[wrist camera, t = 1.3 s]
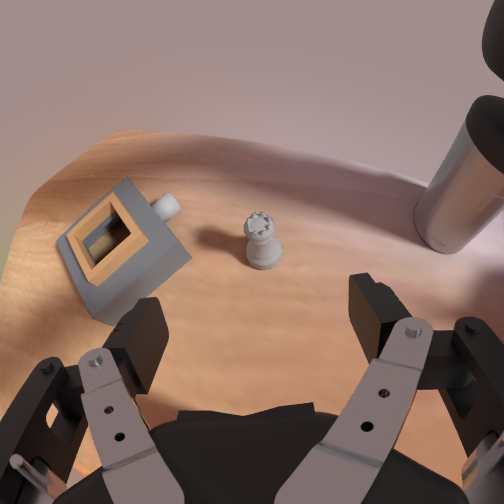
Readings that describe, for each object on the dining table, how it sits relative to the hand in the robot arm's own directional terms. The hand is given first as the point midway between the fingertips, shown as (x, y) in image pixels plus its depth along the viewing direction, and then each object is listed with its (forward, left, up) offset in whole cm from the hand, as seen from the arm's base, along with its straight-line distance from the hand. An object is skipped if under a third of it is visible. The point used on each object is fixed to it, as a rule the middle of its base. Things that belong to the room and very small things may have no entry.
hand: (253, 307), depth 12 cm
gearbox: (+6, -22, -22) cm, 32 cm away
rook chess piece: (-7, -9, -22) cm, 25 cm away
